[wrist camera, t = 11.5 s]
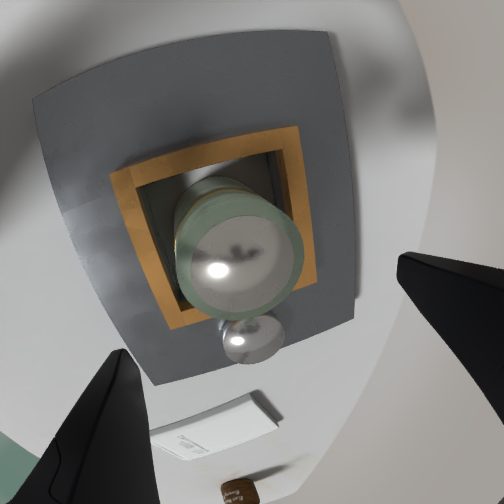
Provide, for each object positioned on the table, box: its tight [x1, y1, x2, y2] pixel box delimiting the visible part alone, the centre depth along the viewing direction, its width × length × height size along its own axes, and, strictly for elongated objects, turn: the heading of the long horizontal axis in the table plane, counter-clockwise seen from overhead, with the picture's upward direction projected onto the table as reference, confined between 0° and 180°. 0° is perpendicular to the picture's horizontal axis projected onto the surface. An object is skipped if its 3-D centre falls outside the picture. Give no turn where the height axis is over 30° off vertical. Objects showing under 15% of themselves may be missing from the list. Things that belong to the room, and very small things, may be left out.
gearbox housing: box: [32, 30, 355, 386], centre depth 14 cm, size 16×20×2 cm
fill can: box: [174, 176, 304, 321], centre depth 13 cm, size 5×5×6 cm
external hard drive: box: [149, 393, 279, 461], centre depth 24 cm, size 2×8×12 cm
